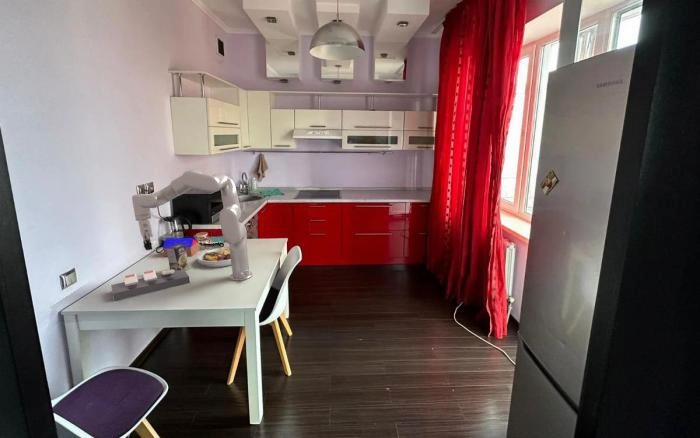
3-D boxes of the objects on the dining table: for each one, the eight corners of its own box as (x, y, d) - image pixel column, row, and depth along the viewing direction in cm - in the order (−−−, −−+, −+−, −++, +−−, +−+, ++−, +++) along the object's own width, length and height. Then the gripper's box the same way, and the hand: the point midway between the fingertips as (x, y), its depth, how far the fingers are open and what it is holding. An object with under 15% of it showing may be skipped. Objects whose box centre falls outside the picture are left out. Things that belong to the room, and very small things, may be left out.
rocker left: (138, 284, 196) (138, 281, 195) (125, 287, 193) (125, 284, 192) (136, 276, 202) (136, 273, 201) (123, 279, 199) (123, 276, 198)
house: (173, 251, 265) (170, 235, 262) (200, 251, 263) (198, 235, 261) (163, 257, 253) (161, 240, 250) (192, 256, 252) (189, 240, 249)
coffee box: (179, 274, 219) (175, 248, 215) (170, 274, 220) (166, 248, 216) (189, 269, 227) (185, 244, 224) (179, 268, 229) (176, 243, 225)
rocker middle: (157, 280, 201) (157, 277, 200) (145, 283, 198) (144, 280, 197) (154, 273, 207) (154, 269, 206) (142, 275, 204) (142, 272, 203)
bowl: (191, 261, 243) (190, 249, 241) (234, 250, 262) (233, 240, 261) (209, 272, 221) (207, 260, 219) (255, 260, 240) (253, 248, 239)
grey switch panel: (190, 283, 206) (189, 275, 205) (114, 301, 186) (112, 293, 185) (184, 275, 217) (183, 268, 216) (112, 291, 197) (111, 284, 196)
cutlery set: (230, 237, 295) (230, 235, 295) (221, 249, 266) (220, 246, 266) (204, 239, 294) (204, 236, 293) (192, 251, 265) (192, 248, 264)
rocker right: (175, 273, 205) (174, 269, 205) (163, 276, 202) (162, 272, 202) (173, 272, 212) (172, 269, 212) (161, 275, 209) (160, 271, 209)
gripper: (152, 218, 197) (158, 250, 201) (148, 213, 211) (153, 243, 215) (136, 220, 193) (142, 253, 197) (133, 215, 207) (138, 246, 211)
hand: (148, 248), depth 206 cm, fingers open, 5 cm apart
